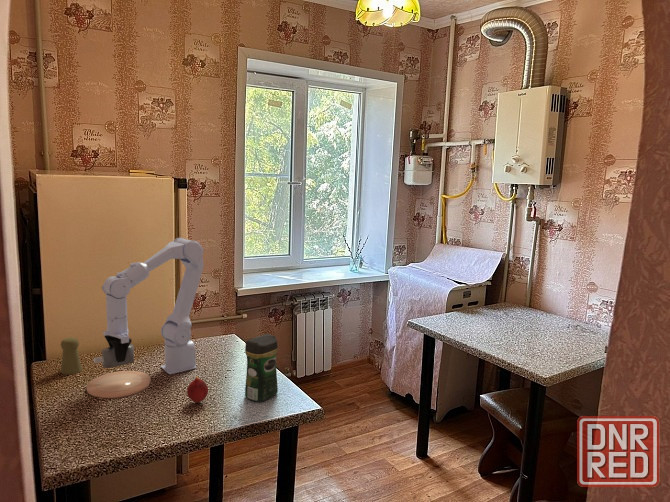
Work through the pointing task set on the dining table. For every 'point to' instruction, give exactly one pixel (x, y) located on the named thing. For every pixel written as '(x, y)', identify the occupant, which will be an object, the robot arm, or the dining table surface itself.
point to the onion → (197, 390)
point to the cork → (70, 356)
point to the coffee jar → (261, 368)
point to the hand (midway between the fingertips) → (118, 359)
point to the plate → (118, 384)
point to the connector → (114, 357)
